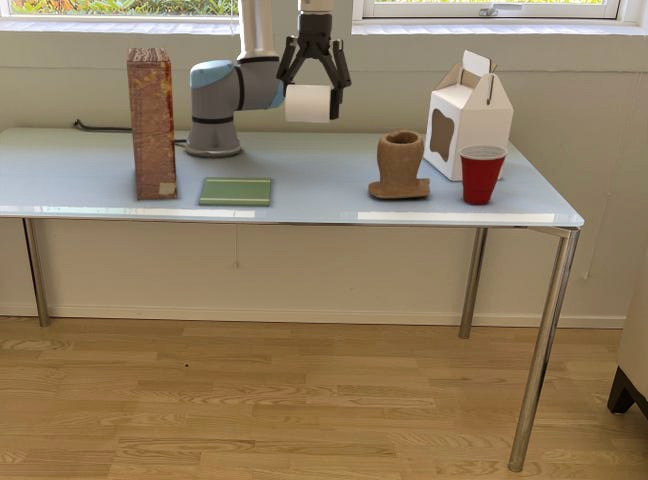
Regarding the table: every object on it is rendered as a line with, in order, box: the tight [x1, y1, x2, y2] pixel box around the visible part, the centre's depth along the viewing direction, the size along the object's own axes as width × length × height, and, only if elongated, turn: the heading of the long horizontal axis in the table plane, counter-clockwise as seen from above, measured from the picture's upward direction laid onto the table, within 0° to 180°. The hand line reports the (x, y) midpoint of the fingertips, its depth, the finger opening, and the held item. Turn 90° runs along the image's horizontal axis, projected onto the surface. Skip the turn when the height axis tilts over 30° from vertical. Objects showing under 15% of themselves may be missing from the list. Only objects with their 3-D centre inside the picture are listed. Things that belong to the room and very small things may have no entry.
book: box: [126, 44, 178, 201], centre depth 171 cm, size 25×9×30 cm, turn 9°
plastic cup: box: [458, 145, 509, 206], centre depth 165 cm, size 11×11×12 cm
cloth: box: [198, 176, 272, 207], centre depth 173 cm, size 16×20×1 cm
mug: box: [284, 84, 333, 124], centre depth 168 cm, size 12×10×8 cm
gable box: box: [423, 49, 515, 182], centre depth 184 cm, size 22×13×28 cm, turn 7°
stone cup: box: [367, 129, 431, 199], centre depth 167 cm, size 15×12×15 cm
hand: (311, 115), depth 169 cm, fingers closed on mug, 12 cm apart
